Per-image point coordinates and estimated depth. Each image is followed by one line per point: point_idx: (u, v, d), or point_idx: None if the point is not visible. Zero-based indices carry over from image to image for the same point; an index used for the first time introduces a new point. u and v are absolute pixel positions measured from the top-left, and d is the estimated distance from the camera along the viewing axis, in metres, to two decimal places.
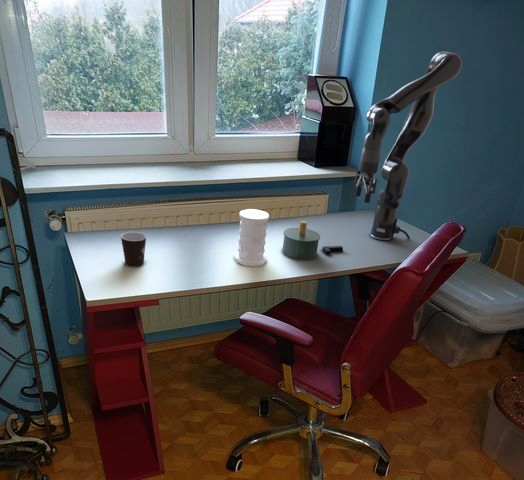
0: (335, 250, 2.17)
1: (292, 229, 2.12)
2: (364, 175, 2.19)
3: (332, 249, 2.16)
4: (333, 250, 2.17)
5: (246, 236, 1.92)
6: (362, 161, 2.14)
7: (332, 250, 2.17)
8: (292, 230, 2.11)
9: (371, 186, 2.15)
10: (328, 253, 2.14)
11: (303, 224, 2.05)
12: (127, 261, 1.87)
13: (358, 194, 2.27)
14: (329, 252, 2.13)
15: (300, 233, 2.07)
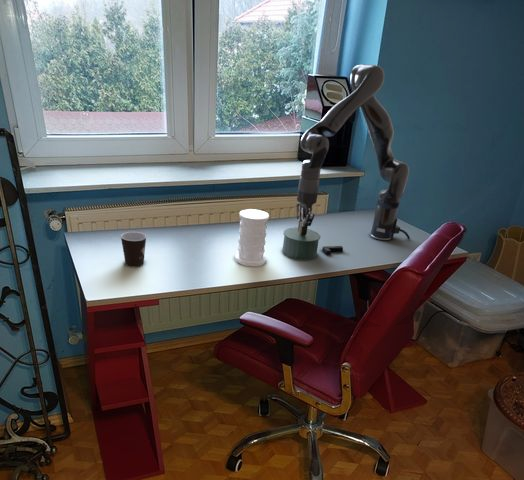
0: (335, 250, 2.17)
1: (292, 229, 2.12)
2: (303, 205, 2.02)
3: (332, 249, 2.16)
4: (333, 250, 2.17)
5: (246, 236, 1.92)
6: (299, 191, 1.97)
7: (332, 250, 2.17)
8: (292, 230, 2.11)
9: (307, 221, 2.00)
10: (328, 253, 2.14)
11: None
12: (127, 261, 1.87)
13: None
14: (329, 252, 2.13)
15: (300, 233, 2.07)
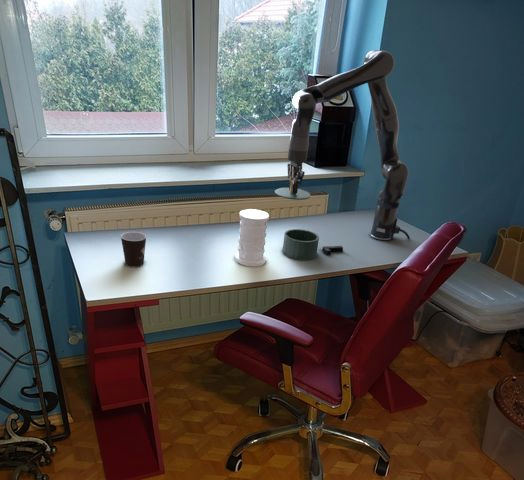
0: (335, 250, 2.17)
1: (283, 189, 2.20)
2: (293, 164, 2.10)
3: (332, 249, 2.16)
4: (333, 250, 2.17)
5: (246, 236, 1.92)
6: (290, 149, 2.06)
7: (332, 250, 2.17)
8: (283, 189, 2.19)
9: (298, 178, 2.08)
10: (328, 253, 2.14)
11: None
12: (127, 261, 1.87)
13: None
14: (329, 252, 2.13)
15: (291, 192, 2.15)
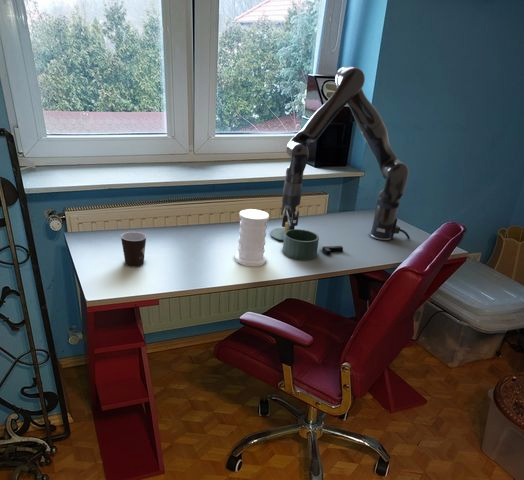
0: (335, 250, 2.17)
1: (278, 229, 2.30)
2: (288, 207, 2.20)
3: (332, 249, 2.16)
4: (333, 250, 2.17)
5: (246, 236, 1.92)
6: (284, 194, 2.15)
7: (332, 250, 2.17)
8: (278, 230, 2.29)
9: (293, 219, 2.16)
10: (328, 253, 2.14)
11: (288, 225, 2.23)
12: (127, 261, 1.87)
13: (284, 225, 2.28)
14: (329, 252, 2.13)
15: None
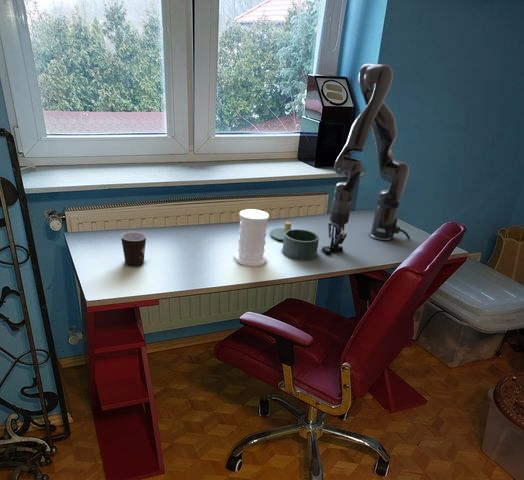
0: None
1: (278, 229, 2.30)
2: (335, 225, 2.12)
3: None
4: None
5: (246, 236, 1.92)
6: (333, 211, 2.07)
7: None
8: (278, 230, 2.29)
9: (339, 240, 2.10)
10: (328, 253, 2.14)
11: (288, 225, 2.23)
12: (127, 261, 1.87)
13: None
14: (329, 252, 2.13)
15: None
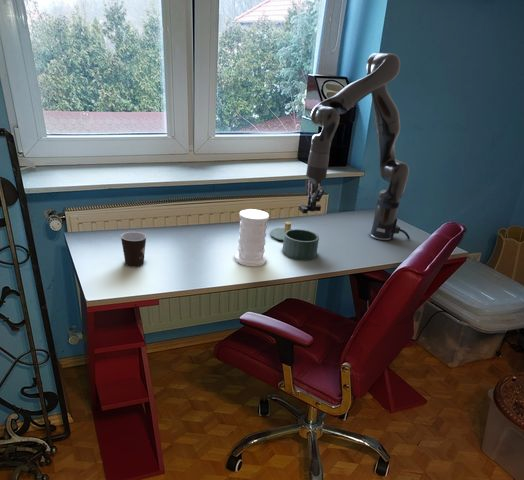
0: None
1: (278, 229, 2.30)
2: (312, 181, 1.99)
3: (309, 208, 2.04)
4: None
5: (246, 236, 1.92)
6: (309, 166, 1.95)
7: None
8: (278, 230, 2.29)
9: (316, 196, 1.97)
10: (305, 211, 2.01)
11: (288, 225, 2.23)
12: (127, 261, 1.87)
13: None
14: (306, 210, 2.01)
15: None
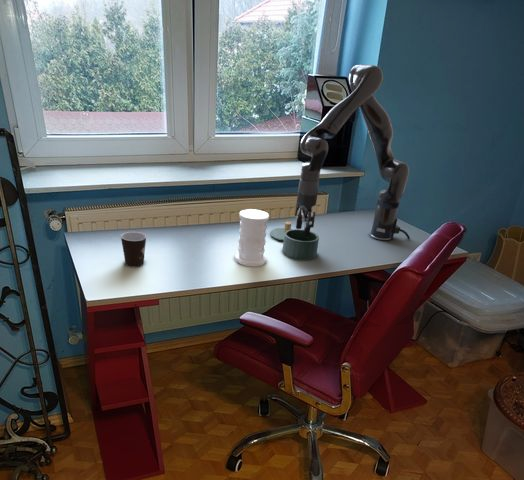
0: None
1: (278, 229, 2.30)
2: (303, 207, 2.04)
3: None
4: None
5: (246, 236, 1.92)
6: (299, 193, 1.99)
7: None
8: (278, 230, 2.29)
9: (309, 220, 2.00)
10: None
11: (288, 225, 2.23)
12: (127, 261, 1.87)
13: (299, 226, 2.12)
14: None
15: None
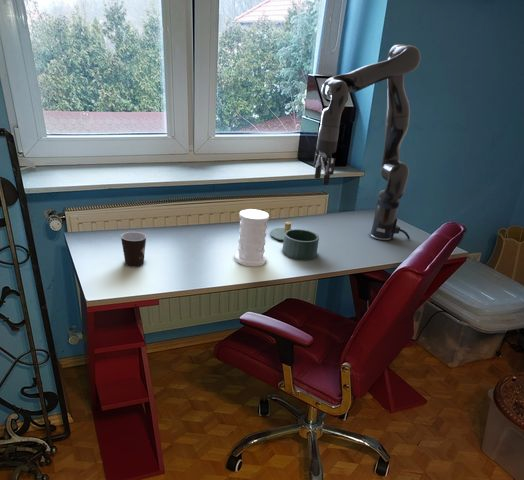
0: None
1: (278, 229, 2.30)
2: (322, 155, 2.03)
3: None
4: None
5: (246, 236, 1.92)
6: (319, 139, 1.98)
7: None
8: (278, 230, 2.29)
9: (329, 166, 1.99)
10: None
11: (288, 225, 2.23)
12: (127, 261, 1.87)
13: (318, 176, 2.11)
14: None
15: None
